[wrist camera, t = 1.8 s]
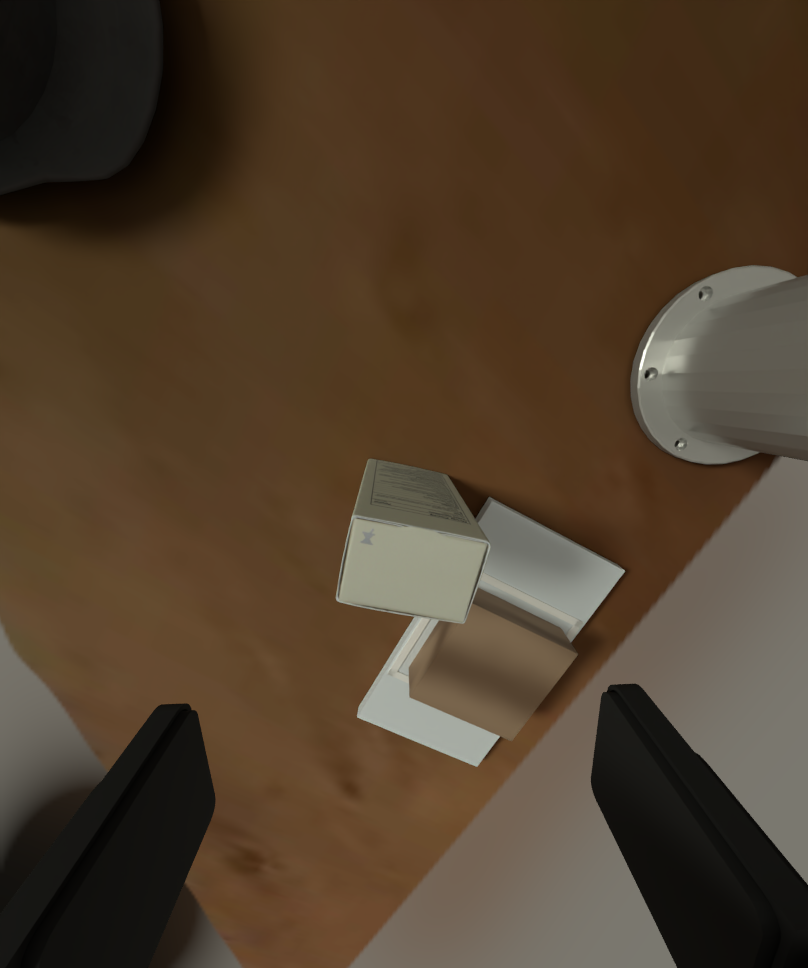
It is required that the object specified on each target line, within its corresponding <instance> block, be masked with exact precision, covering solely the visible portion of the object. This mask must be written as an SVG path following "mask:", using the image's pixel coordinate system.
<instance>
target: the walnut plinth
mask: <svg viewBox="0 0 808 968" xmlns="http://www.w3.org/2000/svg"><path fill="white" fill-rule="evenodd" d="M577 655H578V653H577V651H576V650H575V648H574V647H573V645H572V644H571V642H570V641H569V639H568V638H567V636H566V635H565V633H564V632H563V630H562V629H561V628H560V627H558V626H556V625H554V624H552V623H550V622H548V621H546V620H544V619H542V618H540V617H537V616H535V615H533V614H531V613H529V612H527V611H525V610H523V609H521V608H519V607H517V606H515V605H513V604H511V603H509V602H507V601H505V600H503V599H501V598H499V597H497V596H494V595H492V594H490V593H488V592H486V591H484V590H482V589H480V588H478V589H477V591H476V594H475V597H474V599H473V603H472V605H471V608H470V610H469V613H468V616H467V619H466V622H465V623H464V624H460V623H454V622H446V621H440V620H439V621H438V623H437V624H436V626H435V627H434V629H433V630H432V632H431V634H430V635H429V637H428V638H427V640H426V641H425V643H424V644H423V646H422V648H421V649H420V651H419V652H418V654H417V655H416V657H415V658H414V660H413V662H412V663H411V665H410V666H409V697H410V698H412V699H414V700H417V701H419V702H421V703H424V704H426V705H428V706H431V707H433V708H435V709H438V710H440V711H442V712H445V713H447V714H449V715H452V716H454V717H456V718H459V719H461V720H463V721H466V722H468V723H470V724H473V725H475V726H477V727H479V728H482V729H484V730H486V731H489V732H491V733H493V734H496V735H498V736H500V737H503V738H505V739H507V740H510V741H512V740H513V739H514V737H515V736H516V735H517V733H518V732H519V731H520V729H521V728H522V727H523V726H524V724H525V723H526V722H527V720H528V719H529V718H530V716H531V715H532V714H533V713H534V711H535V710H536V709H537V707H538V706H539V705H540V704H541V702H542V701H543V700H544V698H545V697H546V696H547V694H548V693H549V692H550V691H551V689H552V688H553V687H554V685H555V684H556V683H557V681H558V680H559V679H560V678H561V676H562V675H563V674H564V672H565V671H566V670H567V668H568V667H569V666H570V665H571V663H572V662H573V661H574V659H575V658H576V657H577Z"/></svg>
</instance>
